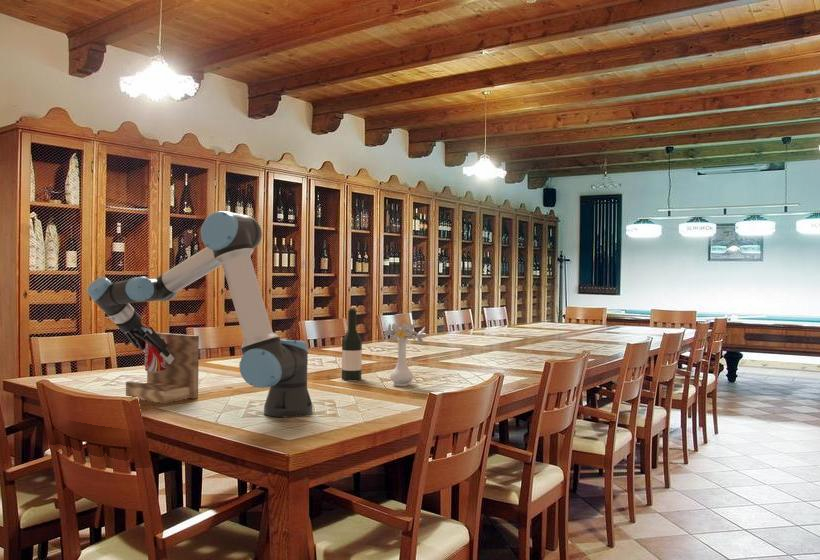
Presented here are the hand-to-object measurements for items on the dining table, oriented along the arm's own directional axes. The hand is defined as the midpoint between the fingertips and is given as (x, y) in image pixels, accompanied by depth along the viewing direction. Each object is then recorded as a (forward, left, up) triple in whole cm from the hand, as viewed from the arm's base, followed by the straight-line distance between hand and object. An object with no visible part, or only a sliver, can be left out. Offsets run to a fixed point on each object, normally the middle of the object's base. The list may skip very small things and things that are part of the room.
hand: (164, 360), depth 226 cm
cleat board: (-1, +2, -13) cm, 13 cm away
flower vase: (-25, -86, -13) cm, 91 cm away
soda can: (-1, +3, -4) cm, 5 cm away
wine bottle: (-2, -76, -13) cm, 77 cm away
